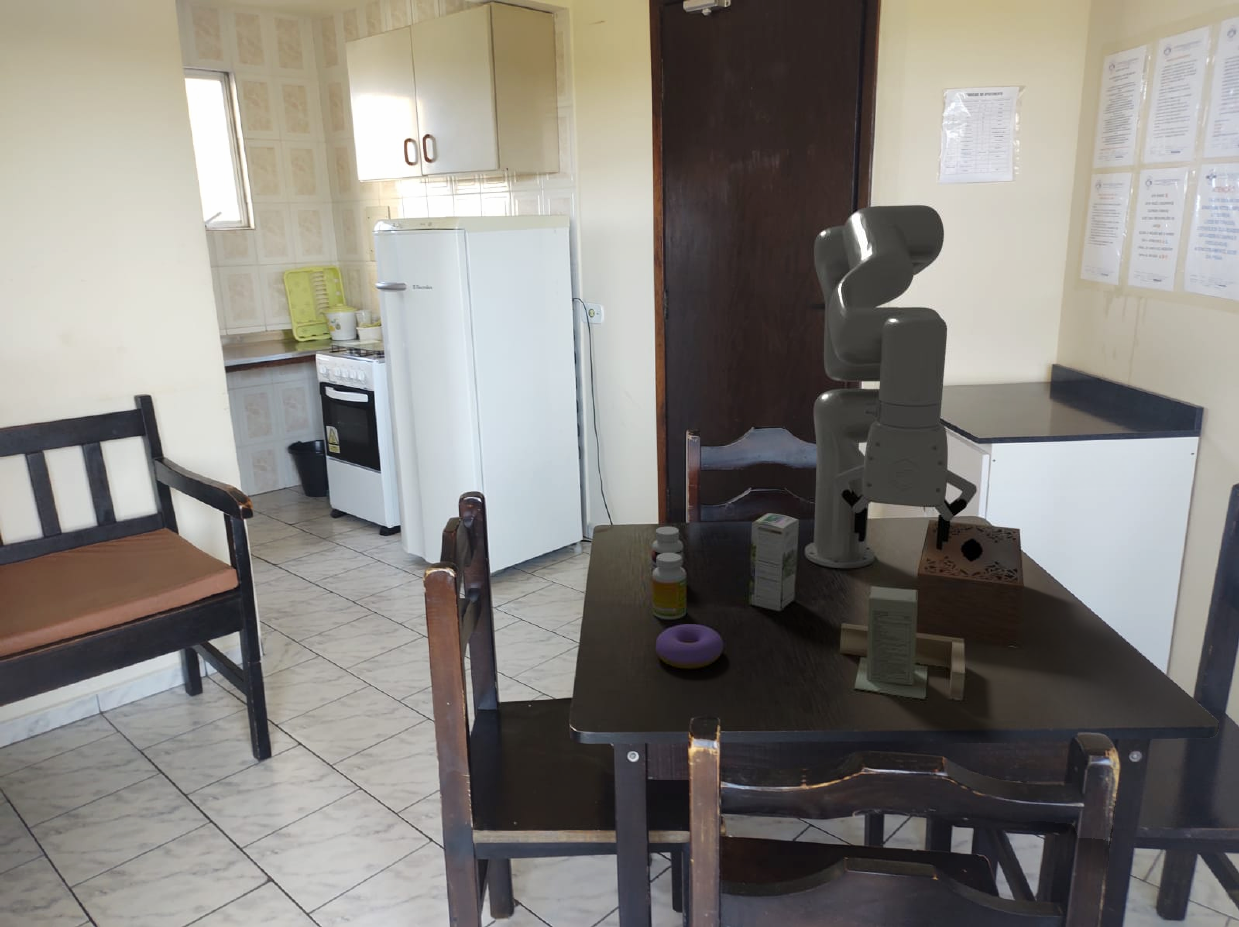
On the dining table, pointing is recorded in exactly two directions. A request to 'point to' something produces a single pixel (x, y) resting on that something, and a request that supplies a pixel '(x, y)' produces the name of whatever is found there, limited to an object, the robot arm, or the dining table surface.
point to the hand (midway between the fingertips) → (900, 542)
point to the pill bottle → (666, 544)
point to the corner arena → (926, 652)
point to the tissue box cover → (971, 584)
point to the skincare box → (891, 635)
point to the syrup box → (773, 561)
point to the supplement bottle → (669, 587)
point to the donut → (689, 646)
